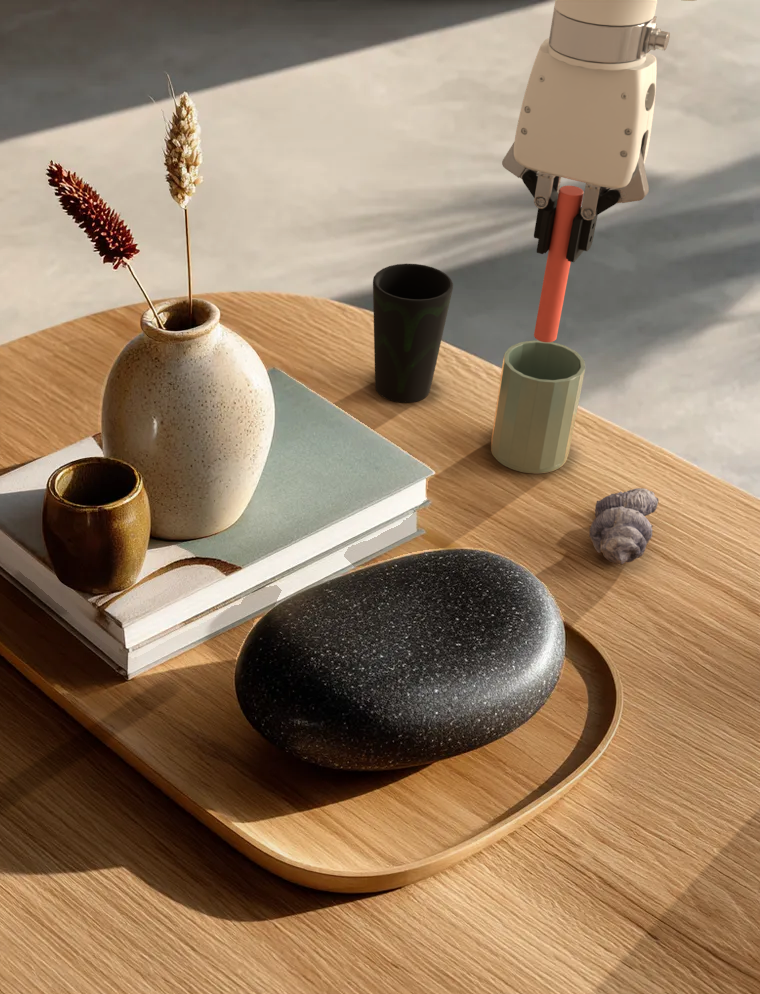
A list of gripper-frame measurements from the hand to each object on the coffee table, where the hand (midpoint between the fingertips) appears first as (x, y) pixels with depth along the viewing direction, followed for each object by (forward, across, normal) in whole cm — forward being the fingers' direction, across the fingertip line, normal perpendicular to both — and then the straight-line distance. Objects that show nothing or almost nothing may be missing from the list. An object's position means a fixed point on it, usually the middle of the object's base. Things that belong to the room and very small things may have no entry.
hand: (560, 250), depth 114 cm
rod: (+9, 0, 0) cm, 9 cm away
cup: (+21, +15, -4) cm, 26 cm away
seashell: (+21, -12, +10) cm, 26 cm away
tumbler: (+21, 0, 0) cm, 21 cm away
